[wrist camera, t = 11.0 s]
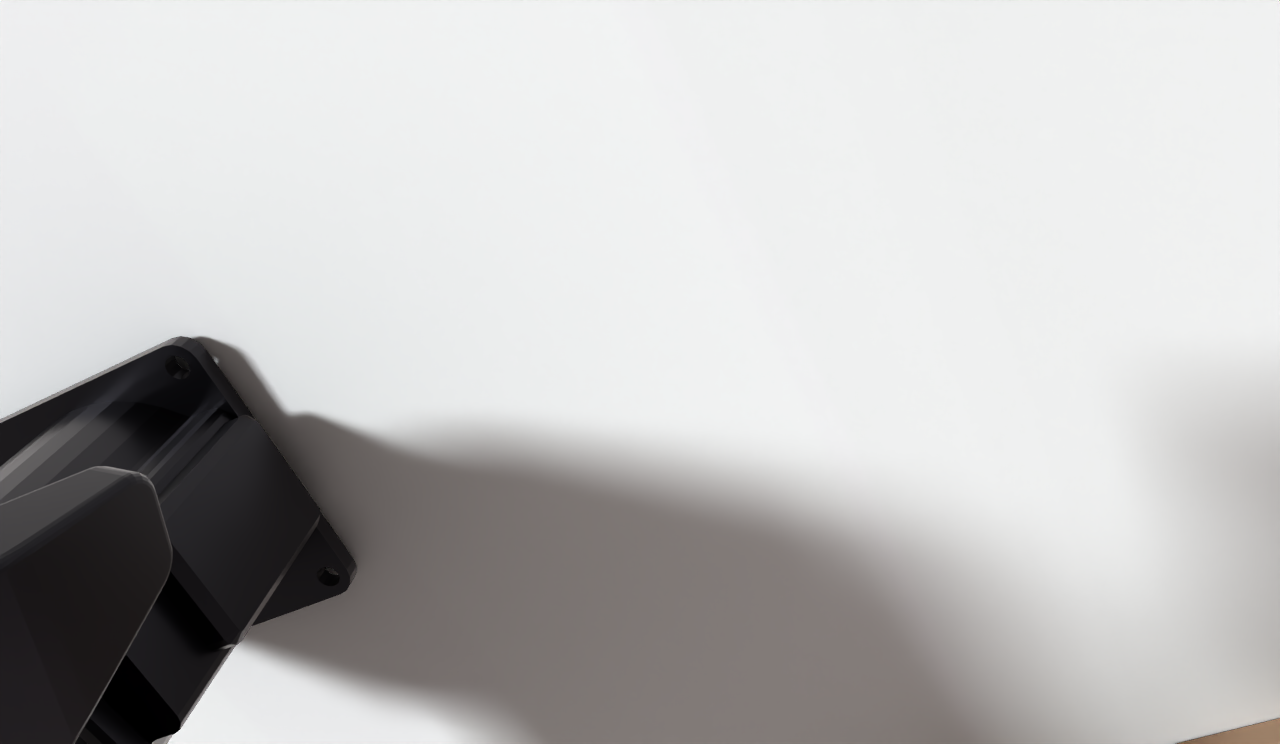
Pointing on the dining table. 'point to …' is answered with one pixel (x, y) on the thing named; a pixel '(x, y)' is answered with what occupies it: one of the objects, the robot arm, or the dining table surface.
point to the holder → (1245, 735)
